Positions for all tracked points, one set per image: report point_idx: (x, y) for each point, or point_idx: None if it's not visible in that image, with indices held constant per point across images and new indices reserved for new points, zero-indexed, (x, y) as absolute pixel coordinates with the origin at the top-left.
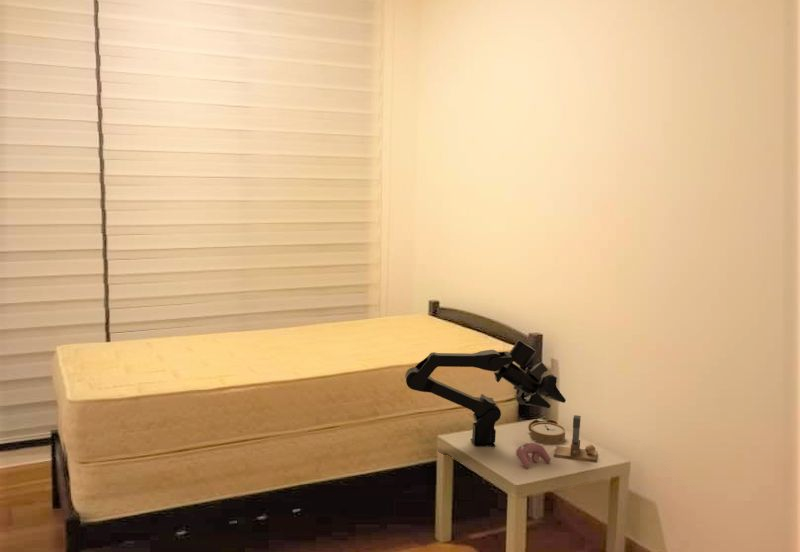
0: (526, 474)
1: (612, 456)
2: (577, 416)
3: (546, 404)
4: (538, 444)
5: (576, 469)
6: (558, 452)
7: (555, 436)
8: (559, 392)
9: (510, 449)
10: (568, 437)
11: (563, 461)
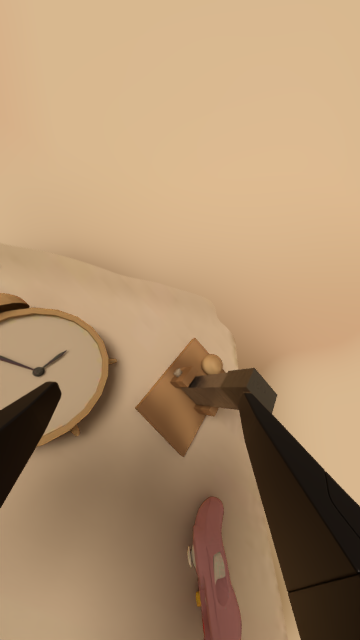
0: (253, 620)
1: (209, 326)
2: (259, 385)
3: (37, 418)
4: (224, 570)
5: (244, 442)
6: (177, 435)
7: (104, 383)
8: (325, 478)
9: (59, 630)
10: (81, 313)
11: (208, 445)
